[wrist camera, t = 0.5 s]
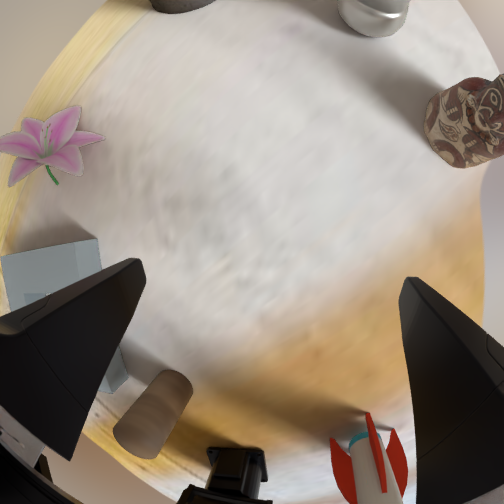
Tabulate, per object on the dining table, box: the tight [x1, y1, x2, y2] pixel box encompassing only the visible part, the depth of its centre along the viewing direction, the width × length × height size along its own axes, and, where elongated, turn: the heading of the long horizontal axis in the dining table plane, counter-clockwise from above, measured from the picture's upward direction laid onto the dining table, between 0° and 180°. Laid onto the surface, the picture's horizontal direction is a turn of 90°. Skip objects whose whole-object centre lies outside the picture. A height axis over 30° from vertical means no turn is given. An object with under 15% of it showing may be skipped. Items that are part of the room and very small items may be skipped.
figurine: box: [424, 74, 504, 168], centre depth 12 cm, size 7×7×12 cm
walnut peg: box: [113, 370, 193, 459], centre depth 21 cm, size 4×4×9 cm
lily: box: [0, 106, 106, 187], centre depth 20 cm, size 12×12×10 cm
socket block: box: [0, 239, 129, 394], centre depth 24 cm, size 15×15×4 cm
